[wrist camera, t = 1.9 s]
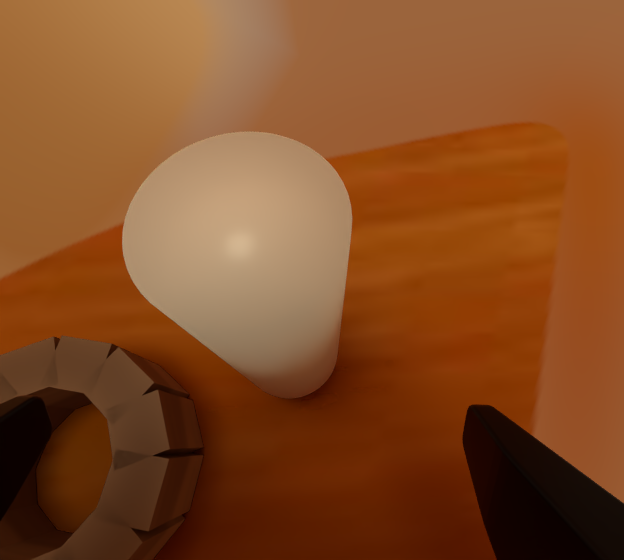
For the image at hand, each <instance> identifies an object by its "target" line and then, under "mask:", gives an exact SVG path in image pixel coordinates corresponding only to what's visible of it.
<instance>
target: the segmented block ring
mask: <svg viewBox="0 0 624 560" xmlns="http://www.w3.org/2000/svg"><path fill="white" fill-rule="evenodd" d="M22 395H28V396H39V397H41V398H42V399H43V400H44V403H45V406H46V408H47V411H48V414H49V417H50V420H51V423H52V432H53V431H54V430H55V429H56V428H57V427H58V426H59V425H60V424H61V423H62V422H63V421H64V420H65V419H66V418H67V417H68V416H69V415H70V414H71V413H72V412H73V411H74V410H75V409H77V408H80V407H82V406H85V405H88V404H90V403H93V404H94V405H95V406H96V407H97V408H98V409H99V410H100V411H101V413H102V414H103V415H104V416H105V417H106V418H107V420H108V428H109V435H110V442H111V449H112V457H113V461H112V464H111V467H110V470H109V473H108V476H107V479H106V482H105V485H104V488H103V491H102V494H101V497H100V500H99V503H98V506H97V508H96V509H95V510H94V511H93V512H92V513H91V514H90V516H89V517H88V518H87V519H86V520H85V521H84V522H83V523H82V525H81V526H80V527H79V528H78V529H77V530H76V531H75V532H74V533H68V532H64V531H59V530H56V528H55V527H54V526H53V524H52V523H51V522H50V521H49V519H48V518H47V517H46V515H45V514H44V513H43V511H42V510H41V509H40V507H39V506H38V505H37V491H36V474H35V469H36V466H37V464H38V461H39V459H40V457H41V454H42V453H41V454H40V456H39V458H38V460H37V461H36V463H35V465H34V467H33V468H32V470H31V472H30V474H29V475H28V477H27V479H26V481H25V482H24V484H23V486H22V488H21V489H20V491H19V493H18V495H17V496H16V498H15V500H14V501H13V503H12V505H11V506H10V508H9V510H8V511H7V513H6V514H5V516H4V517H3V519H2V520H1V522H0V560H153V558H154V557H155V556H156V555H157V554H158V552H159V551H160V550H161V549H162V547H163V546H164V545H165V544H166V542H167V541H168V540H169V539H170V537H171V536H172V535H173V534H174V533H175V531H176V530H177V529H178V528H179V526H180V525H181V524H182V523H183V521H184V520H185V518H184V517H183V516H182V514H184V513H186V512H188V511H190V507H191V503H192V499H193V495H194V491H195V487H196V483H197V479H198V475H199V471H200V468H201V464H202V460H203V456H204V455H200V454H194V453H191V452H193V451H196V450H198V449H201V448H203V447H204V446H203V442H202V438H201V433H200V429H199V425H198V420H197V416H196V412H195V407H194V403H193V400H190V399H187V397H188V396H189V395H190V394H189V393H188V392H187V391H185V390H184V389H183V388H182V387H181V386H180V385H179V384H178V383H177V382H176V381H175V380H174V379H173V378H172V377H171V376H170V375H169V374H168V373H167V372H166V371H165V370H164V369H163V368H162V367H161V366H159V365H157V364H155V363H153V362H151V361H149V360H147V359H144V358H142V357H140V356H138V355H136V354H133V353H131V352H129V351H127V350H124V349H122V348H120V347H118V346H116V345H113V344H110V343H104V342H98V341H92V340H85V339H79V338H73V337H67V336H62V337H61V339H59V338H56V337H51V338H48V339H45V340H43V341H40V342H37V343H34V344H31V345H28V346H26V347H23V348H20V349H17V350H14V351H11V352H8V353H6V354H3V355H0V404H1V403H3V402H6V401H8V400H10V399H12V398H14V397H17V396H22ZM42 452H43V451H42Z"/></svg>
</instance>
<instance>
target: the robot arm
mask: <svg viewBox="0 0 624 560" xmlns="http://www.w3.org/2000/svg"><path fill="white" fill-rule="evenodd" d="M51 434H52V423H51V420H50V417H49V414H48V411H47V408H46V406H45V403H44V400H43V399H42V398H41V397H39V396H28V395H22V396H17V397H14V398H12V399H10V400H8V401H6V402H3V403H1V404H0V522H1V520H2V519H3V517H4V516H5V514H6V513H7V511H8V510H9V508H10V506H11V505H12V503H13V501H14V500H15V498H16V496H17V495H18V493H19V491H20V489H21V488H22V486H23V484H24V482H25V481H26V479H27V477H28V475H29V474H30V472H31V470H32V468H33V467H34V465H35V463H36V461H37V460H38V458H39V456H40V454H41V453H42V451H43V449H44V447H45V446H46V444H47V442H48V440H49V439H50V437H51ZM463 447H464V451H465V455H466V459H467V463H468V466H469V470H470V474H471V478H472V481H473V485H474V489H475V493H476V496H477V500H478V504H479V508H480V511H481V515H482V518H483V522H484V525H485V528H486V531H487V534H488V537H489V540H490V542H491V545H492V548H493V550H494V553H495V556H496V558H497V560H624V503H622V502H621V501H620V500H618V499H617V498H616V497H614V496H613V495H611V494H610V493H609V492H607V491H606V490H605V489H603V488H602V487H601V486H599V485H598V484H597V483H595V482H594V481H593V480H591V479H590V478H589V477H587V476H586V475H584V474H583V473H582V472H580V471H579V470H578V469H576V468H575V467H574V466H572V465H571V464H570V463H568V462H567V461H565V460H564V459H563V458H562V457H560V456H559V455H558V454H556V453H555V452H553V451H552V450H551V449H549V448H548V447H546V446H545V445H544V444H543V443H541V442H540V441H539V440H537V439H536V438H535V437H533V436H532V435H530V434H529V433H528V432H526V431H525V430H524V429H522V428H521V427H520V426H518V425H517V424H516V423H514V422H513V421H512V420H510V419H509V418H507V417H506V416H505V415H503V414H502V413H501V412H499V411H498V410H497V409H495V408H494V407H492V406H490V405H471V406H469V408H468V410H467V414H466V420H465V425H464V431H463Z"/></svg>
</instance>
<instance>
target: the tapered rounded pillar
mask: <svg viewBox="0 0 624 560" xmlns="http://www.w3.org/2000/svg"><path fill="white" fill-rule="evenodd" d="M351 230H352V211H351V204H350V200H349V196H348V193H347V190H346V188H345V186H344V183H343V181H342V180H341V178H340V177H339V175H338V173H337V172H336V171H335V169H334V168H333V167H332V166H331V165H330V163H329V162H328V161H326V160H325V159H324V158H323V157H322V156H321V155H320V154H318V153H317V152H315V151H314V150H313V149H311V148H310V147H308V146H306V145H304V144H302V143H300V142H298V141H295V140H292V139H290V138H288V137H284V136H280V135H276V134H270V133H264V132H234V133H227V134H221V135H217V136H214V137H210V138H207V139H204V140H201V141H198V142H196V143H194V144H192V145H189V146H187V147H185V148H183V149H182V150H180V151H178V152H177V153H175V154H173V155H172V156H171V157H169V158H168V159H167V160H166V161H164V162H163V163H161V164H160V165H159V166H158V167H157V168H156V169H155V170H154V171H153V172H152V173H151V174H150V175H149V176H148V177H147V179H146V180H145V181H144V182H143V183H142V185H141V186H140V188H139V189H138V191H137V192H136V194H135V196H134V198H133V200H132V202H131V204H130V206H129V209H128V212H127V214H126V217H125V222H124V227H123V238H122V246H123V255H124V259H125V263H126V267H127V270H128V272H129V274H130V276H131V279H132V281H133V282H134V284H135V285H136V287H137V288H138V290H139V291H140V293H141V294H142V295H143V296H144V297H145V298H146V299H147V300H148V301H149V302H150V303H151V304H152V305H154V306H155V307H156V308H158V309H159V310H160V311H161V312H163V313H164V314H165V315H167V316H168V317H169V318H170V319H172V320H173V321H174V322H175V323H177V324H178V325H179V326H181V327H182V328H183V329H184V330H186V331H187V332H188V333H190V334H191V335H192V336H193V337H195V338H196V339H197V340H199V341H200V342H201V343H202V344H204V345H205V346H206V347H208V348H209V349H210V350H211V351H213V352H214V353H215V354H217V355H218V356H219V357H220V358H222V359H223V360H224V361H225V362H227V363H228V364H229V365H231V366H232V367H233V368H234V369H236V370H237V371H238V372H240V373H241V374H242V375H243V376H245V377H246V378H247V379H249V380H250V381H251V382H252V383H254V384H255V385H256V386H258V387H259V388H260V389H261V390H263V391H264V392H266V393H268V394H270V395H272V396H275V397H279V398H286V399H290V398H299V397H303V396H306V395H308V394H310V393H312V392H314V391H316V390H317V389H319V388H320V387H321V386H322V385H323V384H324V383H325V382H326V381H327V380H328V378H329V377H330V375H331V374H332V372H333V370H334V367H335V364H336V361H337V355H338V346H339V337H340V328H341V320H342V311H343V302H344V293H345V284H346V275H347V266H348V258H349V249H350V240H351Z"/></svg>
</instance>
